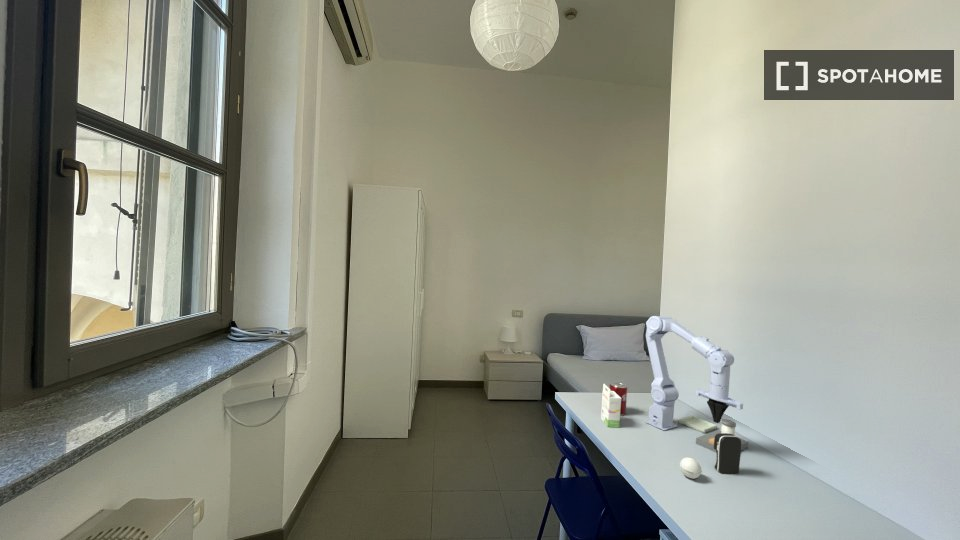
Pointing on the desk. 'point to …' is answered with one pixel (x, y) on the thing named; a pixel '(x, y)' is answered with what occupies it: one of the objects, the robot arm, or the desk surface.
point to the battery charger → (727, 453)
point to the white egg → (690, 468)
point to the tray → (698, 424)
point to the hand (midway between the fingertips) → (716, 422)
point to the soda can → (620, 394)
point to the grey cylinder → (728, 426)
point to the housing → (705, 443)
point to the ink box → (610, 408)
